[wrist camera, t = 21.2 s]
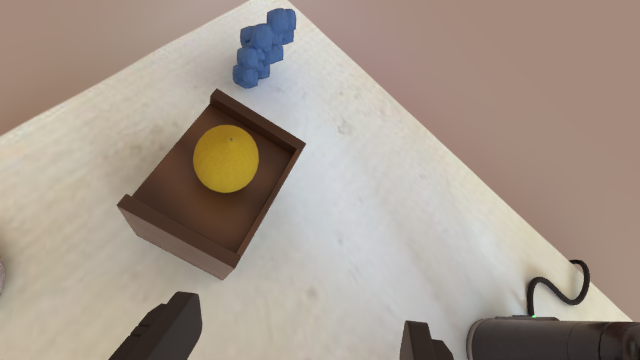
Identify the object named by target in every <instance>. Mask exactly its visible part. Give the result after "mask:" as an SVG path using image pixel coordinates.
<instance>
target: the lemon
mask: <svg viewBox="0 0 640 360" xmlns="http://www.w3.org/2000/svg"><path fill="white" fill-rule="evenodd" d="M258 162H259V157H258V149H257V146H256V143H255V141H254V140H253V138H252V137H251V136H250V135H249V134H248V133H247V132H246V131H244V130H243V129H241V128H239V127H236V126H232V125H220V126H217V127H214V128H212V129H210V130H209V131H207V132H206V133H205V134H204V135H203V136H202V137H201V138H200V139H199V141H198V143H197V145H196V147H195V150H194V156H193V164H194V170H195V172H196V174H197V176H198V178H199V179H200V181H201V182H202V183H203V184H204V185H205V186H207V187H208V188H209V189H212V190H214V191H217V192H223V193H228V192H234V191H237V190H240V189H241V188H243V187H245V186H246V185H247V184H248V183H249V182H250V181H251V180H252V179H253V177H254V175H255V173H256V171H257V167H258Z"/></svg>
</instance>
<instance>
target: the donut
mask: <svg viewBox="0 0 640 360" xmlns="http://www.w3.org/2000/svg"><path fill="white" fill-rule="evenodd" d="M4 277H5V271H4V267H3V263H2V260H1V257H0V293H1V292H2V289H3V283H4Z"/></svg>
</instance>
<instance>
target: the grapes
mask: <svg viewBox="0 0 640 360" xmlns="http://www.w3.org/2000/svg"><path fill="white" fill-rule="evenodd" d="M295 29H296V15H295V11H293V10H292V9H283V8H278V9H274V10H271V11H269V12H267V23H266V24H258V25H255V26H248V27H245V28H243V29H241V33H240V42H241V45H242V48H240V49H238V51H237V64H238V65H235V66H233V80H234V82H235V83H236V84H238V85H241V87H244V88H252V87H254V86H257V85H258V79H264V78H266V77H269V74H270V64H273V63H276V62H278V61H281V60H283V46H282V45H286V44H288V43H291V42H293V38H294V30H295Z"/></svg>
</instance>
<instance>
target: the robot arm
mask: <svg viewBox="0 0 640 360" xmlns="http://www.w3.org/2000/svg"><path fill="white" fill-rule="evenodd" d="M568 261H569V262H570V263H571V264H579V265H581V267H582V269H583V272H584V283H583V287H582V290H581V292H580V294H579V296H578V297H577V298H576V299H574V300H570V299H568V298H567V297H566V296H564V295H563V294H562V293H561V292H560V291H559V290H558V289H557V288H556V287H555V286H554V285H553V284H552V283H551V282H550V281H549V280H547V279H545V278H543V277H536V278H534V279H532V281H531V282H530V284H529V287H528V293H527V302H528V315H529V316H525V315H513V316H512V317H495V318H494V319H481V320H479V321H477V322H476V323H475V324H474V325H473V326H472V328H471V330H470V332H469V335H468V339H467V355H468V360H640V323H639V322H603V321H560V320H559V319H557V318H555V317H536V316H535V315H534V307H533V293H534V288H535V286H536V284H537V283H538V282H543V283H544V284H546V285H547V286H548V287H549V288H550V289H551V290H552V291H553V292H554V293H555V294H556V295H557V296H558V297H559V298H560V299H561V300H563V301H564V302H565V303H567V304H569V305H578V304H579V303H581V302H582V301H583V299H584V298H585V296H586V294H587V292H588V288H589V283H590V273H589V269H588V267H587V265H586V264H585V263H584V262H583V261H581V260H568ZM201 331H202V317H201V308H200V300H199V295H198V294H196V293H188V292H180V291H178V292H176V293H175V294H174V295H173V297H172V298H171V299H170V300H169V302H168V303H167V304H162V303H161V304H160V305H159V306H157V307H156V308H154V309H153V310H151V311H150V312H148V313H147V315H146V316H145V317H144V318H143V319H142V320H141V322H140V323H139V325H138V326H136V328H135V329H134V330H133V331H132V332H131V335H130V336H128V337H127V338H126V339H125V341H124V342H123V343H122V344H121V345H120V346H119V348H118V349H117V350H116V351H115V352H114V354H113V355H112V356H111V357H110V358H109V359H108V360H187V358H188V357H189V355H190V353H191V352H192V350H193V348H194V347H195V345H196V343H197V341H198V340H199V337H200V334H201ZM400 360H454V358H453V355H452V353H451V352H450V350H449V349H448V348H447V346H446V345H445V344H444V342H443V341H442V340H434V339H431V335H430V331H429V327H428V324H427V323H424V322H416V321H408V320H406V321H405V325H404V331H403V337H402V343H401V349H400Z"/></svg>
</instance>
